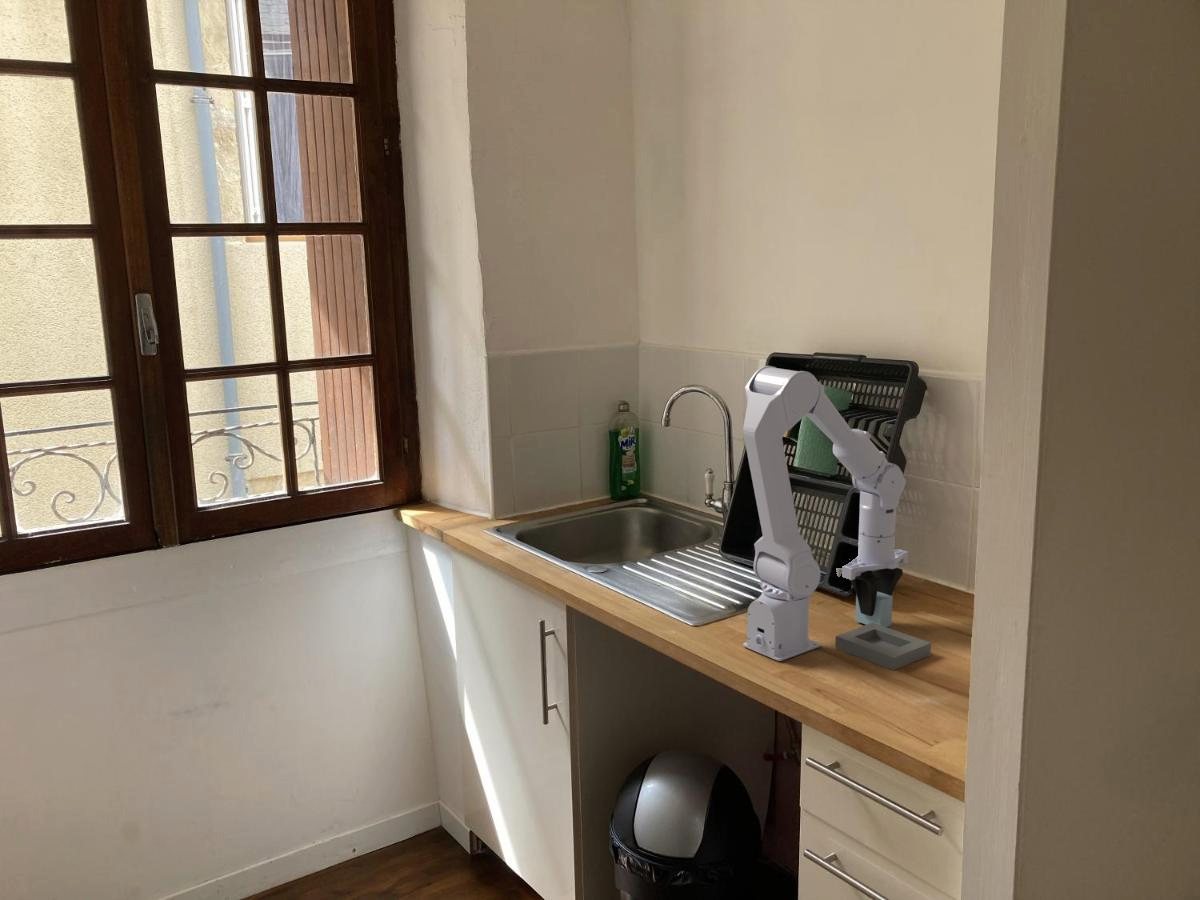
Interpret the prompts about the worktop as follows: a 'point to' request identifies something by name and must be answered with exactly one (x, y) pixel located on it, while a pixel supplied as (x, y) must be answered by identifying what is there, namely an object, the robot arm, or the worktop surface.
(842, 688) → the worktop surface
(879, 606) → the block
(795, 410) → the robot arm
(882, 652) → the grey slotted base
